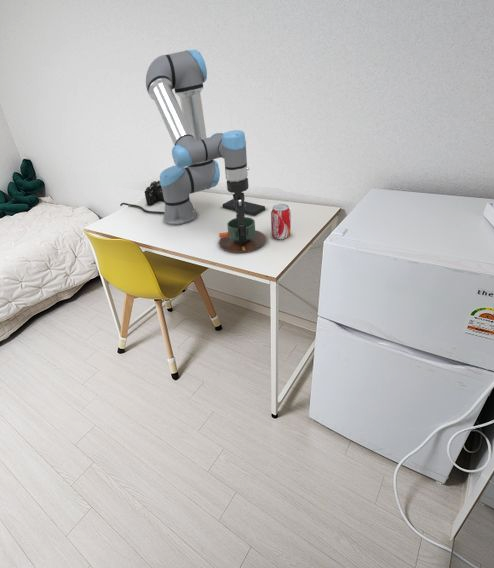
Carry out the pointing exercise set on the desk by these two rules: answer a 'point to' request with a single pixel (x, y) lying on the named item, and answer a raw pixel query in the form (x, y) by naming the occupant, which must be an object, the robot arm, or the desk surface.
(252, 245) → the holder base
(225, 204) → the smart home device
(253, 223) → the cup holder
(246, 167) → the robot arm
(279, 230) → the soda can
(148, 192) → the film camera
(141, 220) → the desk surface
